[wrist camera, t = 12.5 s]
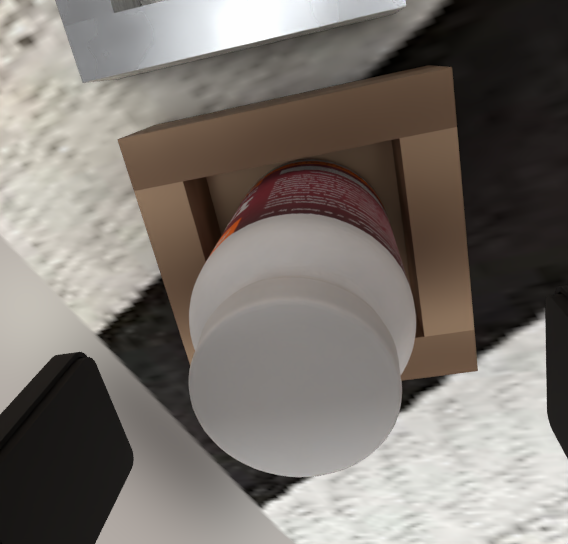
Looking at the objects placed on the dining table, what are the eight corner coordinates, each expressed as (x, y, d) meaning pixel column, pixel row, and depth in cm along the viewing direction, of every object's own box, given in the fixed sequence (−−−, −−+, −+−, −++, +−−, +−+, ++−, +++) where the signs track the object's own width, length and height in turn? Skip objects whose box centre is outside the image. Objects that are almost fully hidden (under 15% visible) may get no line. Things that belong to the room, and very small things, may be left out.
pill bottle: (235, 153, 20) (140, 251, 10) (395, 159, 20) (463, 267, 10) (237, 296, 23) (162, 491, 12) (379, 304, 22) (421, 513, 12)
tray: (154, 125, 21) (117, 139, 17) (428, 65, 19) (451, 67, 16) (222, 354, 25) (203, 405, 21) (454, 321, 23) (477, 370, 20)
